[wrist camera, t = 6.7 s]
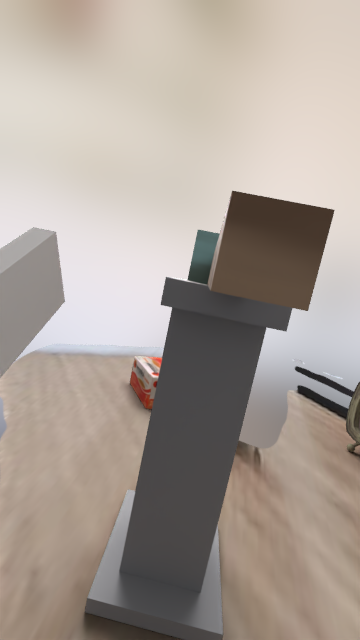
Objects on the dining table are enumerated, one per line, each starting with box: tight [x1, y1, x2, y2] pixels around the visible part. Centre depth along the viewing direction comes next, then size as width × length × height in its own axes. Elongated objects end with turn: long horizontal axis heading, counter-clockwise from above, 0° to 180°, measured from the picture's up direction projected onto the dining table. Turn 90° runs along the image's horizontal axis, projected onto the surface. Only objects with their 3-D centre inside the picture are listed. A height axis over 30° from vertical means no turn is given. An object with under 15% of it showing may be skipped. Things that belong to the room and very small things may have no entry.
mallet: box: [188, 191, 334, 311], centre depth 22 cm, size 26×7×5 cm, turn 175°
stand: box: [85, 277, 292, 640], centre depth 31 cm, size 16×12×30 cm
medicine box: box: [130, 356, 162, 409], centre depth 76 cm, size 15×8×8 cm, turn 24°
